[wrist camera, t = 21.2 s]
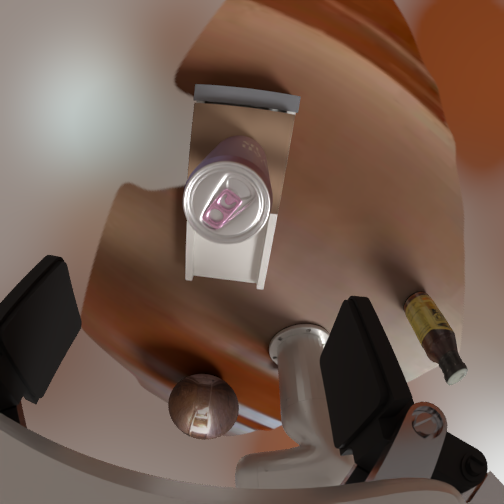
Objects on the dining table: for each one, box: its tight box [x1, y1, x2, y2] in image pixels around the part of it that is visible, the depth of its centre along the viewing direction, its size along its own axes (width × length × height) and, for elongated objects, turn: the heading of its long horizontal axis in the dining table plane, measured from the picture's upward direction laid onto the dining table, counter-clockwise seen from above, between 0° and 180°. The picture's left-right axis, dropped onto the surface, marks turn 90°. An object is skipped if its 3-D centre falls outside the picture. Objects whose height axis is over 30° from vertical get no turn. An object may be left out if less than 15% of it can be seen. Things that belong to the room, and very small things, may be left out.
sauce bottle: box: [404, 292, 468, 385], centre depth 40 cm, size 7×6×20 cm
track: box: [185, 84, 300, 290], centre depth 37 cm, size 28×12×5 cm, turn 172°
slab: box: [188, 103, 295, 215], centre depth 33 cm, size 12×11×5 cm
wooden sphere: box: [168, 374, 239, 439], centre depth 54 cm, size 15×15×15 cm
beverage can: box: [183, 135, 273, 244], centre depth 24 cm, size 6×6×15 cm
